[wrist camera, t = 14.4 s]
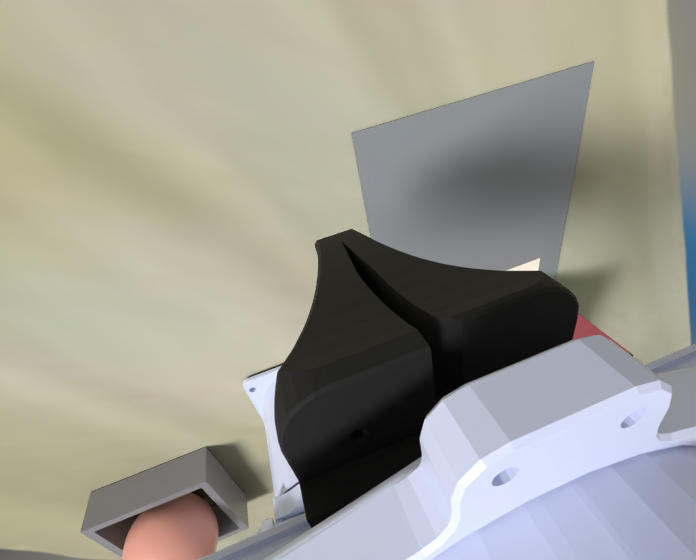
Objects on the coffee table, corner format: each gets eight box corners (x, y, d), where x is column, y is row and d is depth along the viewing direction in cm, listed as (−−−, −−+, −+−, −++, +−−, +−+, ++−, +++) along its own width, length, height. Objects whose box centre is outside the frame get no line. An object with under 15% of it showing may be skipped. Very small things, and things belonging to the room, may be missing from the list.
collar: (246, 495, 36) (248, 528, 34) (150, 535, 35) (146, 572, 33) (206, 446, 31) (205, 481, 28) (90, 492, 30) (80, 532, 27)
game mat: (540, 358, 39) (541, 359, 39) (403, 415, 37) (403, 416, 37) (593, 61, 23) (594, 61, 23) (351, 133, 21) (352, 133, 21)
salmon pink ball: (229, 499, 35) (233, 586, 30) (156, 530, 34) (145, 626, 29) (198, 463, 31) (195, 557, 25) (113, 497, 30) (91, 602, 25)
